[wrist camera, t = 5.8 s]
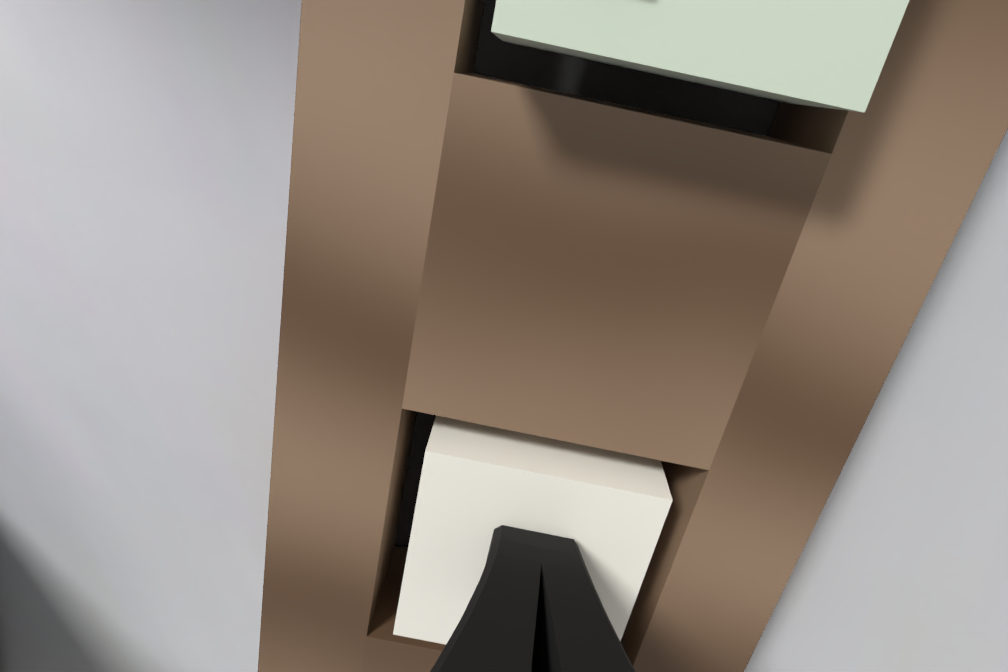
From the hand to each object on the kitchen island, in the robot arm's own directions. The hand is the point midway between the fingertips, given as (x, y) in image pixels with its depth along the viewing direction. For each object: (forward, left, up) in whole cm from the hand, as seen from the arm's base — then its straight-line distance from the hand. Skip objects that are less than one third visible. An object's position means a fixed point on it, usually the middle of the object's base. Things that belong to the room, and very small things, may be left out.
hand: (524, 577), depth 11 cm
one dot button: (0, 0, -2) cm, 2 cm away
